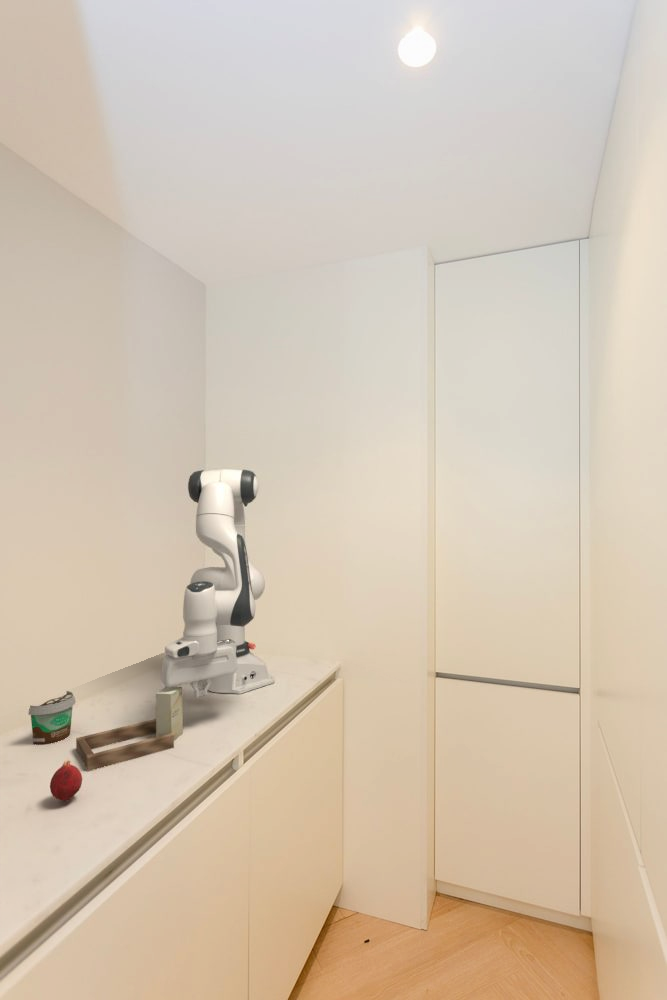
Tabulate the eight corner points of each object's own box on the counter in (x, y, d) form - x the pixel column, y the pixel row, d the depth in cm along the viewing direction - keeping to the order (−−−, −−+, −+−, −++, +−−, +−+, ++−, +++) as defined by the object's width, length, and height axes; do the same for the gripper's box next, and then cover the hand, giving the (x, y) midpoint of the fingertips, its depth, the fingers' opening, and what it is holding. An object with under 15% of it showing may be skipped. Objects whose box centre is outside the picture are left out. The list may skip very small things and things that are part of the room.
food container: (46, 750, 130) (46, 709, 131) (28, 746, 133) (28, 706, 133) (86, 730, 142) (86, 692, 142) (68, 727, 144) (68, 690, 144)
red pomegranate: (79, 806, 106) (79, 765, 106) (47, 811, 104) (47, 770, 104) (84, 791, 111) (84, 752, 111) (53, 796, 110) (53, 756, 110)
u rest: (156, 730, 142) (156, 718, 142) (173, 747, 131) (173, 735, 131) (76, 750, 130) (76, 738, 130) (88, 771, 120) (88, 757, 120)
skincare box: (171, 743, 134) (171, 694, 134) (155, 741, 135) (155, 693, 135) (183, 732, 140) (183, 686, 140) (167, 731, 141) (167, 685, 141)
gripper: (231, 635, 151) (231, 685, 151) (158, 647, 139) (159, 701, 139) (241, 640, 146) (241, 691, 146) (167, 652, 134) (167, 708, 134)
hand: (200, 696), depth 142 cm, fingers closed
